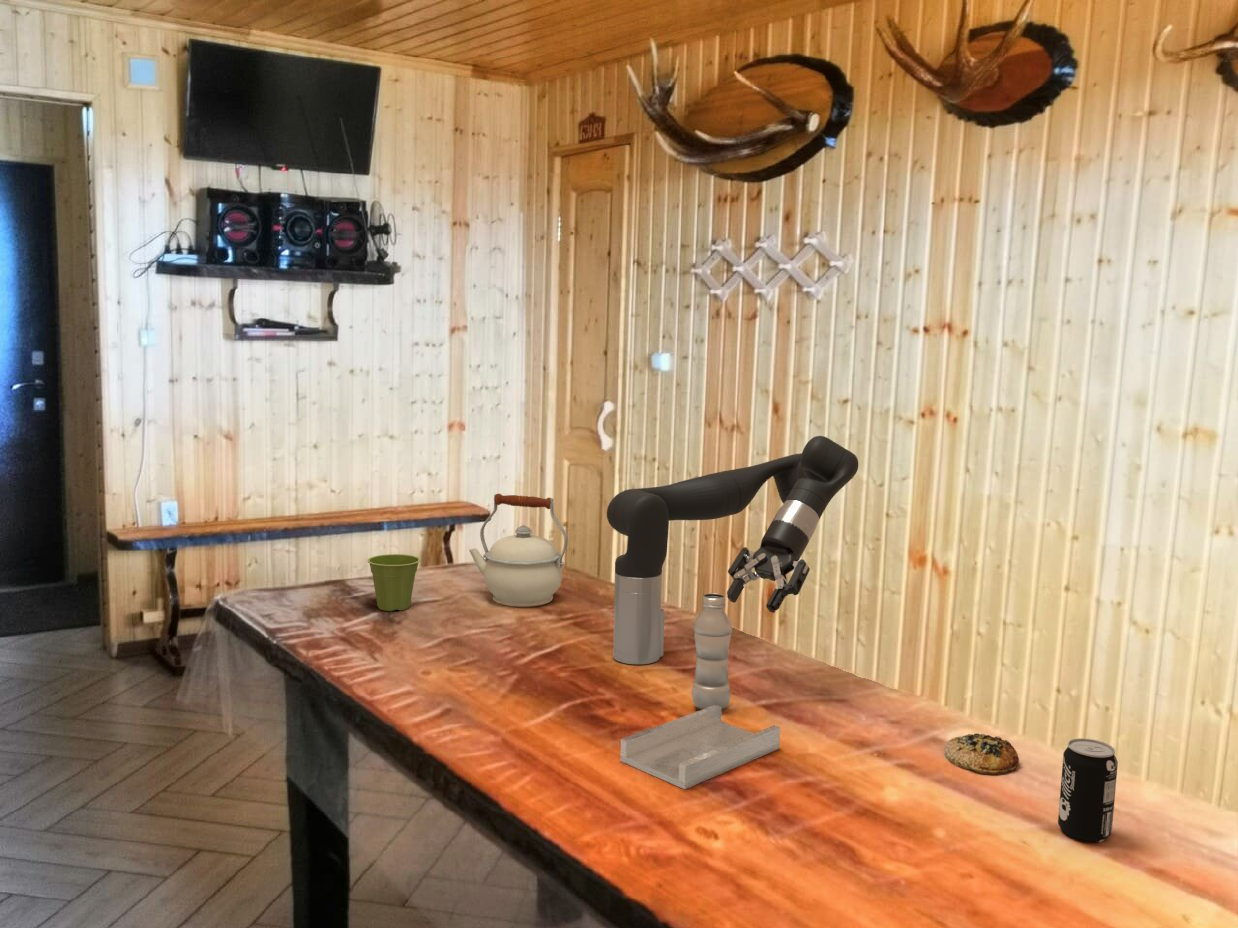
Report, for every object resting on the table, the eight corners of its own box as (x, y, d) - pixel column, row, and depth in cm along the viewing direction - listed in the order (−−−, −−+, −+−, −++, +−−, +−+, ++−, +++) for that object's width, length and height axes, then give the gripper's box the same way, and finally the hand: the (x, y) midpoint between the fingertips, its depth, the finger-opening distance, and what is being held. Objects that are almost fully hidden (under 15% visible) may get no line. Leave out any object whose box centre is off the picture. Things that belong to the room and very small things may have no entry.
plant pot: (415, 615, 239) (414, 565, 237) (362, 614, 239) (361, 564, 238) (425, 601, 251) (425, 554, 249) (374, 600, 251) (374, 552, 249)
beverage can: (1048, 821, 146) (1055, 737, 144) (1094, 820, 146) (1102, 736, 145) (1072, 845, 139) (1080, 757, 138) (1121, 844, 140) (1129, 756, 138)
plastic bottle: (728, 717, 182) (732, 602, 179) (688, 713, 183) (691, 599, 180) (732, 703, 188) (735, 592, 185) (693, 700, 189) (696, 589, 186)
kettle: (579, 594, 259) (581, 493, 256) (550, 614, 242) (551, 505, 238) (486, 584, 267) (486, 485, 264) (451, 602, 250) (451, 497, 246)
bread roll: (1021, 753, 169) (1022, 724, 167) (1014, 790, 159) (1015, 759, 158) (948, 743, 173) (948, 714, 172) (937, 778, 164) (937, 748, 162)
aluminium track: (715, 724, 178) (716, 704, 178) (779, 748, 169) (780, 727, 168) (620, 761, 163) (620, 738, 162) (684, 789, 153) (685, 766, 153)
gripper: (831, 549, 191) (791, 625, 185) (767, 536, 201) (726, 607, 195) (816, 525, 187) (774, 601, 180) (750, 512, 197) (708, 584, 190)
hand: (749, 604), depth 188 cm, fingers open, 8 cm apart
